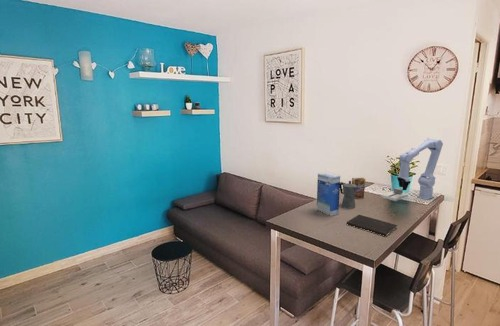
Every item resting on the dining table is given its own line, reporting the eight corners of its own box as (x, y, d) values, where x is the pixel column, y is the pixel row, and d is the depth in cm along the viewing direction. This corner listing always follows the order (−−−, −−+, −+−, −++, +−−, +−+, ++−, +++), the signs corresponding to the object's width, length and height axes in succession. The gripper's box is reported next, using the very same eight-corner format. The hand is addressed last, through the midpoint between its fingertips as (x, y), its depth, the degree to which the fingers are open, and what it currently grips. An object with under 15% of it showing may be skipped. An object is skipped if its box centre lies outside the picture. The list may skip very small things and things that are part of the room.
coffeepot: (360, 207, 199) (362, 182, 195) (352, 210, 194) (353, 184, 190) (342, 201, 211) (344, 177, 207) (334, 203, 206) (335, 179, 202)
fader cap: (396, 191, 224) (396, 187, 223) (402, 193, 220) (403, 188, 219) (393, 192, 222) (393, 188, 221) (399, 194, 218) (400, 189, 217)
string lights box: (339, 214, 187) (341, 175, 182) (330, 216, 183) (332, 177, 178) (323, 208, 198) (325, 171, 193) (315, 210, 194) (317, 173, 189)
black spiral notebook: (358, 217, 182) (359, 214, 182) (397, 228, 166) (397, 225, 165) (346, 225, 171) (346, 221, 171) (386, 238, 155) (386, 234, 155)
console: (393, 193, 228) (393, 190, 227) (407, 196, 219) (407, 194, 219) (381, 197, 218) (381, 194, 218) (395, 201, 209) (395, 198, 209)
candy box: (353, 198, 216) (354, 179, 212) (350, 197, 220) (351, 177, 217) (364, 198, 217) (365, 178, 214) (361, 196, 221) (362, 177, 218)
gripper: (395, 167, 214) (393, 185, 217) (401, 172, 200) (400, 191, 203) (405, 168, 213) (403, 185, 215) (412, 172, 199) (410, 191, 201)
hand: (402, 188), depth 209 cm, fingers open, 7 cm apart
